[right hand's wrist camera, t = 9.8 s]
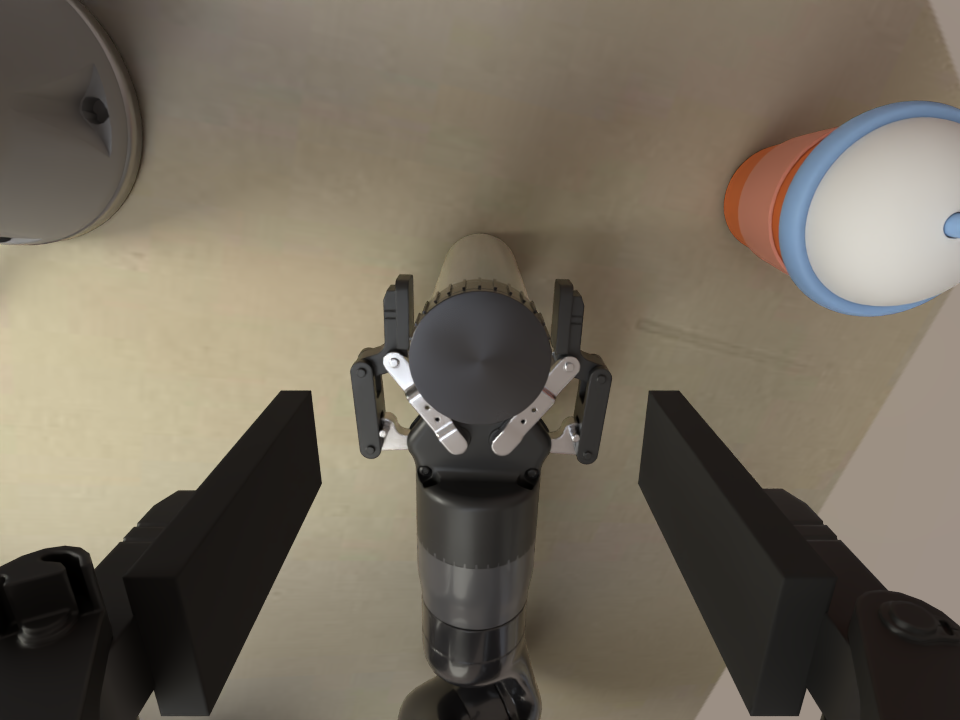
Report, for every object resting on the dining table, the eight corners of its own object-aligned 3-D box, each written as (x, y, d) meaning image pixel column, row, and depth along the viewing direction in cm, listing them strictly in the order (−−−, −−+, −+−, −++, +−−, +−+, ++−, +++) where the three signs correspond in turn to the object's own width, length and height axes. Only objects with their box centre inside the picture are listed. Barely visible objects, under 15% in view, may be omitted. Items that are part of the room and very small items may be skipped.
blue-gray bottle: (523, 239, 34) (556, 304, 19) (509, 311, 36) (531, 423, 21) (448, 227, 34) (423, 283, 19) (438, 300, 36) (408, 405, 21)
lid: (560, 288, 21) (567, 301, 19) (533, 413, 23) (538, 436, 21) (421, 266, 20) (415, 277, 19) (405, 394, 22) (399, 416, 20)
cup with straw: (882, 174, 33) (1305, 193, 16) (777, 299, 36) (1045, 428, 19) (769, 84, 31) (1109, -2, 14) (667, 222, 34) (852, 287, 17)
